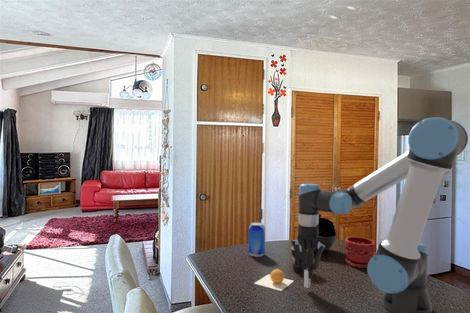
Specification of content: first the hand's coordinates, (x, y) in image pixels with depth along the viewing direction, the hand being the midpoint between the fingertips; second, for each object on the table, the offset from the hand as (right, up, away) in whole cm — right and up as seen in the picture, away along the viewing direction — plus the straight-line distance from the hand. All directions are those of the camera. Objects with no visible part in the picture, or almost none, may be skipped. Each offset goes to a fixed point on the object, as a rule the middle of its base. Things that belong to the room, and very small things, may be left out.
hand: (307, 286), depth 125 cm
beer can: (-16, -1, +44) cm, 47 cm away
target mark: (-12, -2, +8) cm, 14 cm away
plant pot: (+31, -2, +31) cm, 44 cm away
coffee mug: (+2, -2, +23) cm, 23 cm away
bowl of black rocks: (+17, -2, +52) cm, 54 cm away
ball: (-11, +1, +7) cm, 13 cm away
